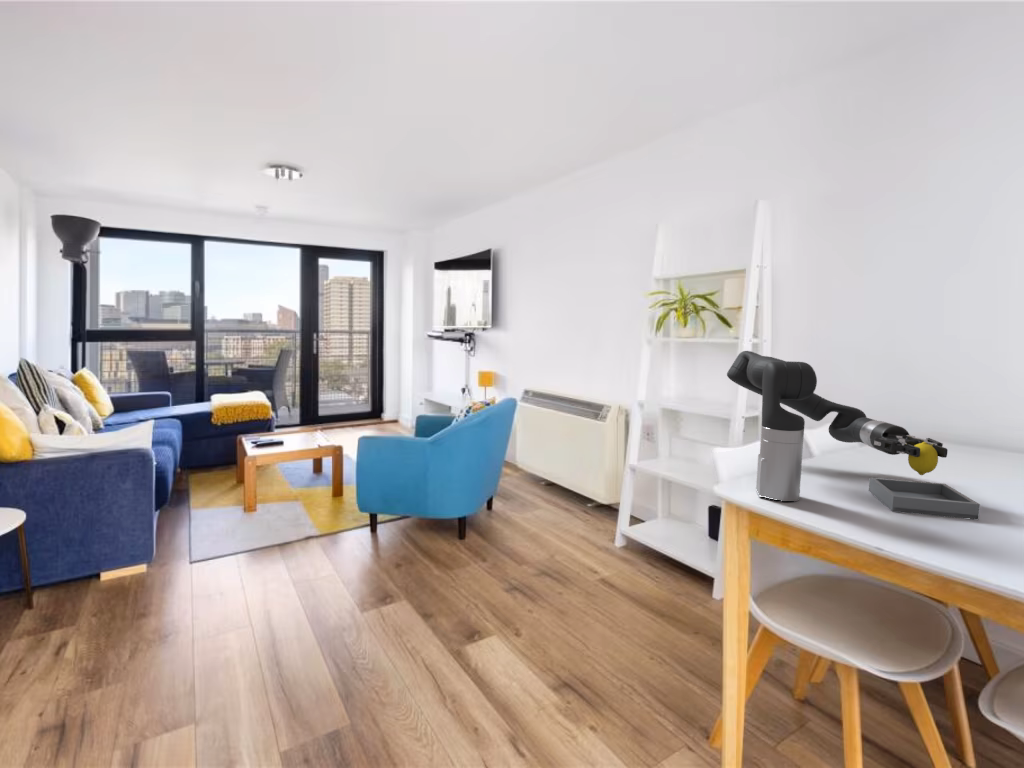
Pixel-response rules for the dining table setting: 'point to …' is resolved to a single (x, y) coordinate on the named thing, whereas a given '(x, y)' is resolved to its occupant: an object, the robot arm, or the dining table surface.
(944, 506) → the tray
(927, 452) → the lemon
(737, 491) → the dining table surface
